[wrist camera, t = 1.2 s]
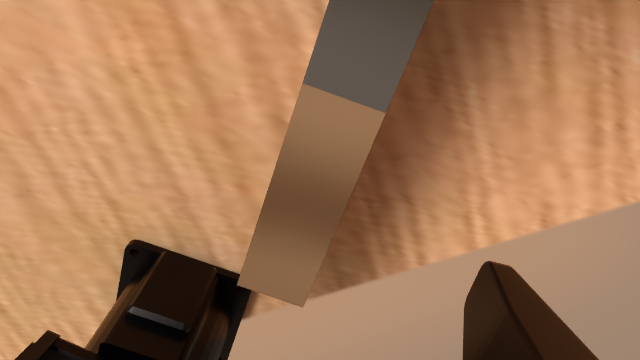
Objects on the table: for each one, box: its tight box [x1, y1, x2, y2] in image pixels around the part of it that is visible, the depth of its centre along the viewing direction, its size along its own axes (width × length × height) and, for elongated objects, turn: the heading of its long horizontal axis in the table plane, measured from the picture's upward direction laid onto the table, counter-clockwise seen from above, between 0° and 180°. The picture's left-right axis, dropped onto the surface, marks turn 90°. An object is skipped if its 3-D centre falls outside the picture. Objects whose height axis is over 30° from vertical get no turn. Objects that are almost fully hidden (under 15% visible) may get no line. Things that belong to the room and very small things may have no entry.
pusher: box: [237, 0, 434, 307], centre depth 17 cm, size 16×2×6 cm, turn 162°
